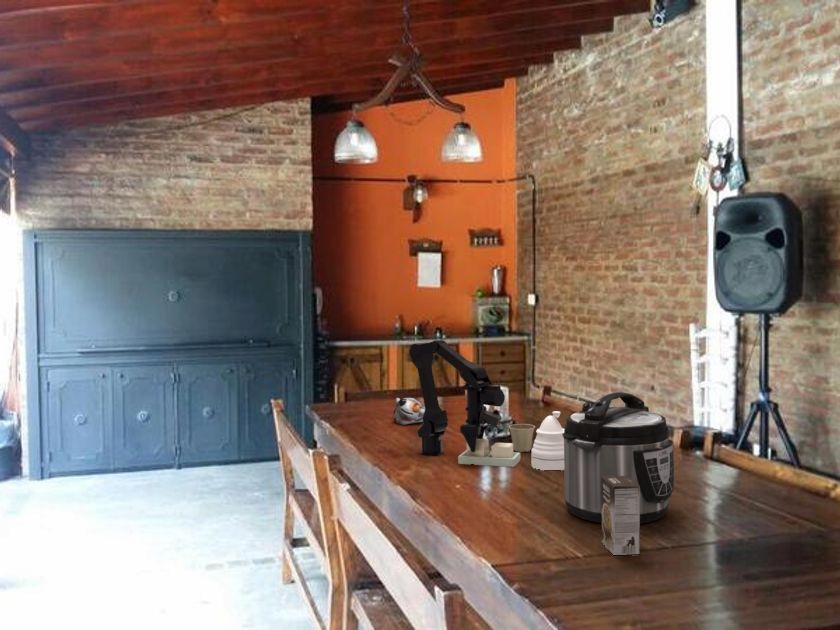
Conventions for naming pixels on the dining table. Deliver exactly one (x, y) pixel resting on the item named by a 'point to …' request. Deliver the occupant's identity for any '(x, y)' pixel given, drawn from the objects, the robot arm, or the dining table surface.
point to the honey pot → (549, 445)
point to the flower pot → (522, 436)
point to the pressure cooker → (617, 455)
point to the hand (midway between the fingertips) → (476, 449)
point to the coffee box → (620, 515)
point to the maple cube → (479, 448)
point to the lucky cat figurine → (408, 411)
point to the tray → (493, 456)
